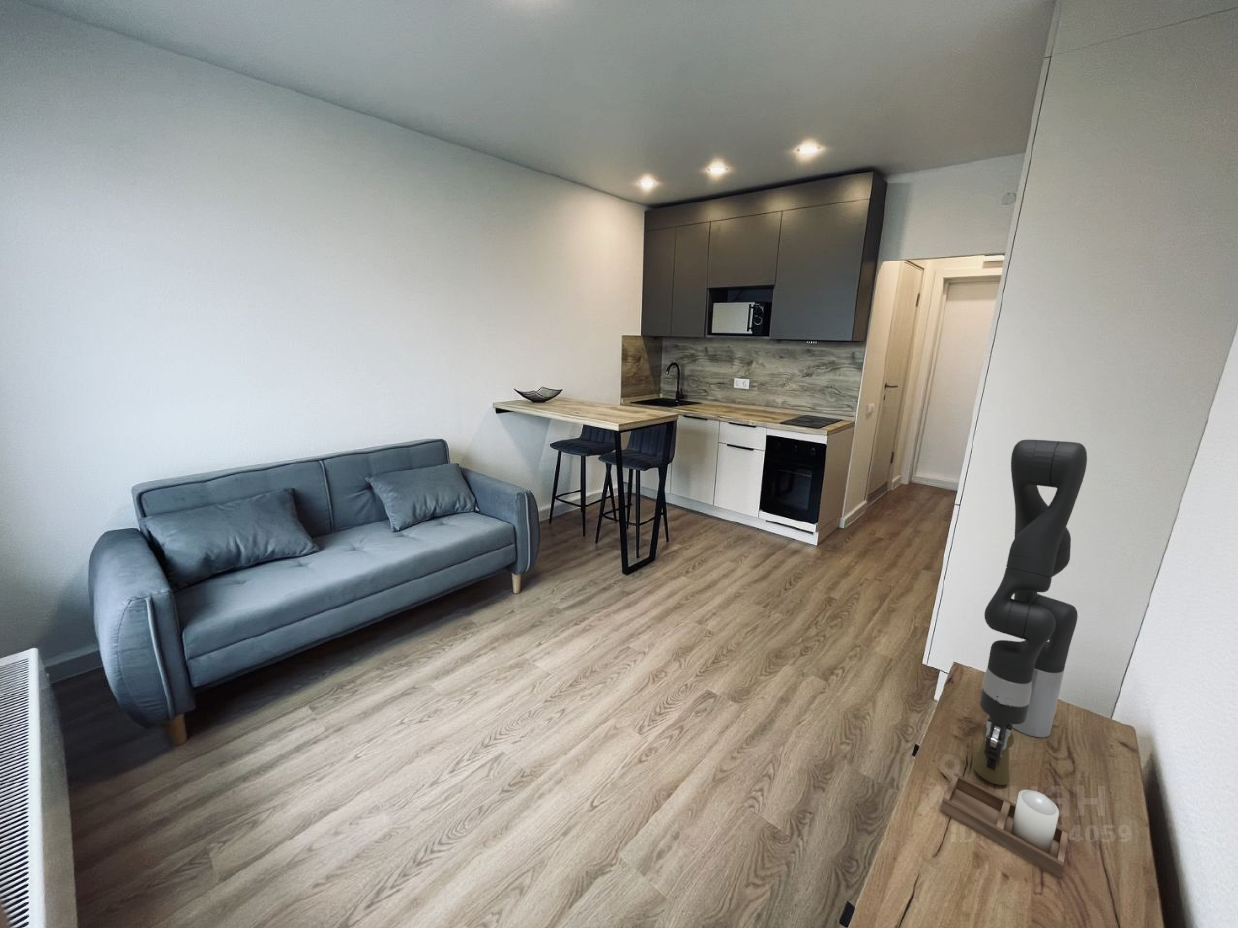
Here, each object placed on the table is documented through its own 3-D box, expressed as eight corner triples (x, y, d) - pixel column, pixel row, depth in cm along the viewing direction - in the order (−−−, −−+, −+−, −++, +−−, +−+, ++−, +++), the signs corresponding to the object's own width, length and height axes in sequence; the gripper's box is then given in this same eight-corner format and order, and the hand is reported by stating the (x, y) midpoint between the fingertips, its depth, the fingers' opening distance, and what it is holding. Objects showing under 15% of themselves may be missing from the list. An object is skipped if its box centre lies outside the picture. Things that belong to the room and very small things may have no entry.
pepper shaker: (1015, 786, 100) (1024, 740, 97) (982, 782, 101) (990, 736, 98) (999, 763, 105) (1007, 719, 103) (968, 759, 107) (975, 715, 104)
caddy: (952, 787, 102) (954, 772, 101) (1064, 846, 89) (1068, 830, 89) (940, 814, 96) (942, 799, 95) (1059, 882, 83) (1063, 865, 82)
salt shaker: (1013, 822, 93) (1022, 777, 91) (1051, 842, 89) (1062, 796, 87) (1008, 841, 89) (1017, 795, 87) (1048, 863, 85) (1059, 815, 83)
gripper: (989, 668, 106) (978, 735, 110) (975, 700, 97) (963, 772, 101) (1034, 684, 101) (1020, 754, 105) (1024, 719, 92) (1009, 795, 95)
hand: (992, 763), depth 103 cm, fingers closed on pepper shaker, 3 cm apart
